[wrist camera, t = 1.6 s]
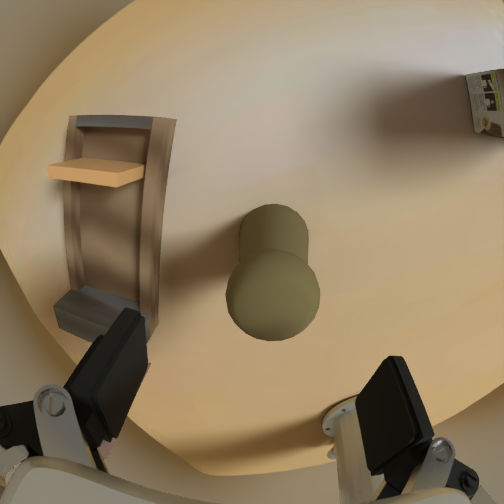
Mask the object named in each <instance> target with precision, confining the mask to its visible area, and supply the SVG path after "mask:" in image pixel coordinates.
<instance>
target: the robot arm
mask: <svg viewBox="0 0 504 504" xmlns="http://www.w3.org/2000/svg"><path fill="white" fill-rule="evenodd" d="M147 367H148V358H147V346H146V331H145V317H144V316H141V313H140V311H137V310H134V309H131V308H127V307H125V308H124V309H123V310H122V312H121V313H120V314H119V316H118V317H117V319H116V320H115V321H114V323H113V324H112V326H111V327H110V328H109V330H108V331H107V333H106V334H105V335H99V336H98V337H97V338H96V339H95V341H94V342H93V343H92V345H91V346H90V348H89V349H88V351H87V352H86V354H85V355H84V357H83V358H82V359H81V361H80V362H79V364H78V365H77V367H76V369H75V370H74V372H73V373H72V375H71V376H70V378H69V379H68V381H67V382H66V384H65V385H64V387H63V388H62V387H61V386H58V385H46V386H43V387H42V388H40V389H39V390H38V391H37V392H36V394H35V397H34V400H33V401H28V402H23V403H18V404H12V405H6V406H0V504H218V503H212V502H206V501H201V500H196V499H191V498H186V497H182V496H178V495H174V494H170V493H166V492H162V491H159V490H155V489H151V488H148V487H145V486H142V485H139V484H136V483H133V482H130V481H127V480H124V479H121V478H119V477H116V476H113V475H110V474H109V472H108V469H107V467H106V465H105V462H104V460H103V458H102V455H101V453H100V450H99V448H98V447H100V445H101V443H102V441H103V440H105V441H107V442H110V443H111V441H112V439H113V438H117V437H118V435H119V433H120V431H121V428H122V426H123V424H124V421H125V419H126V416H127V414H128V412H129V409H130V407H131V405H132V402H133V400H134V398H135V396H136V393H137V391H138V389H139V387H140V384H141V382H142V380H143V378H144V375H145V373H146V371H147ZM322 429H323V431H324V433H325V434H326V435H328V436H330V437H332V438H334V443H335V444H334V447H333V448H332V449H331V450H330V451H329V452H328V453H327V456H328V458H330V459H336V461H337V471H338V481H339V493H340V504H496V503H495V501H494V500H493V499H492V498H491V497H490V495H488V493H487V492H486V491H485V490H484V488H483V487H482V486H481V485H480V486H479V478H478V475H477V473H476V472H475V471H474V470H473V469H471V468H469V467H468V466H466V465H464V464H463V463H461V462H460V461H458V460H456V459H455V449H454V446H453V445H452V443H451V442H450V441H449V440H448V439H446V438H443V437H438V438H435V439H434V440H432V437H433V436H434V432H433V429H432V426H431V423H430V421H429V418H428V415H427V413H426V410H425V407H424V405H423V402H422V400H421V397H420V395H419V392H418V390H417V388H416V385H415V383H414V380H413V378H412V376H411V373H410V371H409V369H408V367H407V364H406V362H405V360H404V358H403V357H402V356H389V357H387V358H386V359H384V360H383V362H382V363H381V365H380V366H379V367H378V369H377V370H376V372H375V373H374V375H373V376H372V377H371V379H370V380H369V382H368V383H367V384H366V386H365V387H364V388H363V390H362V391H361V392H360V394H359V395H358V396H355V397H353V398H350V399H348V400H346V401H343V402H341V403H340V404H338V405H336V406H335V407H333V408H332V409H331V410H330V411H329V412H328V413H327V414H326V415H325V416H324V418H323V420H322ZM19 462H22V463H21V464H20V465H19V466H18V467H17V469H16V470H15V471H14V473H13V475H12V476H11V478H10V480H9V482H8V484H7V485H6V482H5V477H6V474H7V473H8V472H9V471H10V470H12V469H14V465H16V464H18V463H19ZM478 486H479V487H478Z"/></svg>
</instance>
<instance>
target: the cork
mask: <svg viewBox="0 0 504 504" xmlns="http://www.w3.org/2000/svg"><path fill="white" fill-rule="evenodd" d="M308 243H309V238H308V229H307V226H306V224H305V221H304V220H303V219H302V217H301V216H300V215H299V214H298V213H297V212H296V211H294V210H292V209H291V208H289V207H287V206H283V205H279V204H270V205H264V206H261V207H259V208H256V209H254V210H253V211H252V212H251V213H250V214H248V215H247V216H246V218H245V219H244V221H243V223H242V224H241V227H240V232H239V264H238V265H237V266H236V268H235V270H234V271H233V273H232V274H231V276H230V278H229V281H228V284H227V289H226V294H225V295H226V302H227V307H228V312H229V314H230V316H231V317H232V319H233V321H234V323H235V324H236V325H237V326H238V327H239V328H240V329H242V330H243V331H244V332H245V333H246V334H248V335H250V336H252V337H254V338H256V339H261V340H266V341H281V340H285V339H288V338H291V337H294V336H295V335H297V334H299V333H300V332H302V331H303V330H304V329H305V328H306V327H307V326H308V325H309V324H310V323H311V322H312V320H313V319H314V318H315V315H316V313H317V310H318V308H319V303H320V288H319V285H318V282H317V279H316V276H315V273H314V272H313V270H312V269H311V268H310V267H309V266H308Z"/></svg>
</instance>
